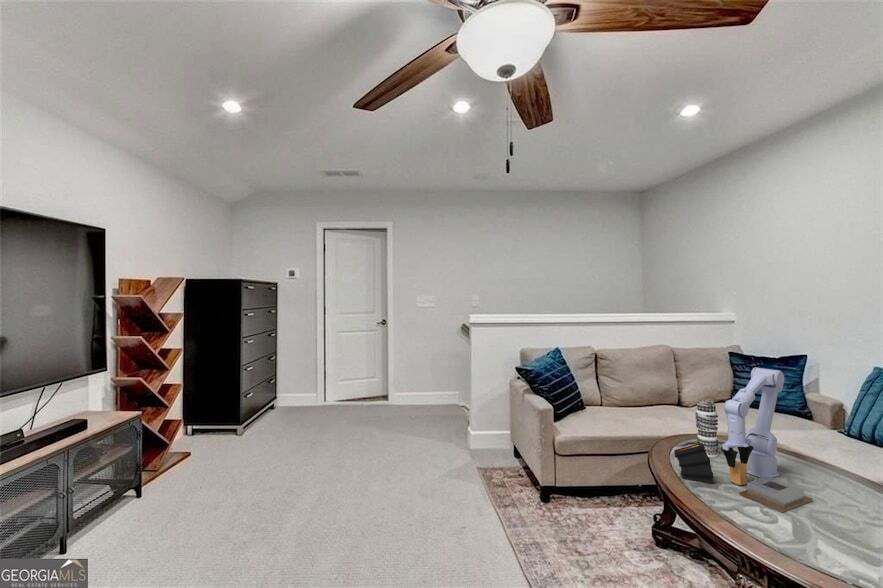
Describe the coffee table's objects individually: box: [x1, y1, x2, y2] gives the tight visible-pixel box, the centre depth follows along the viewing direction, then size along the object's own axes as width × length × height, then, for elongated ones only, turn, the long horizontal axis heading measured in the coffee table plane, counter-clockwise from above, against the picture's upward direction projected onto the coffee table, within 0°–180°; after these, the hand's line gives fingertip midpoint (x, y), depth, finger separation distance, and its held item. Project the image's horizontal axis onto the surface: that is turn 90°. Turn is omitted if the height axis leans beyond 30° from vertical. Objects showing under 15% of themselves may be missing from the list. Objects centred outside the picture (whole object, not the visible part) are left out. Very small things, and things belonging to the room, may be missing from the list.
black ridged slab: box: [673, 443, 714, 485], centre depth 168 cm, size 4×13×15 cm, turn 58°
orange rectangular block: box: [728, 460, 748, 486], centre depth 164 cm, size 4×4×8 cm
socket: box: [739, 476, 814, 514], centre depth 152 cm, size 18×14×4 cm
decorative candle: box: [694, 398, 720, 458], centre depth 194 cm, size 9×9×25 cm
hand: (737, 464), depth 164 cm, fingers open, 7 cm apart
